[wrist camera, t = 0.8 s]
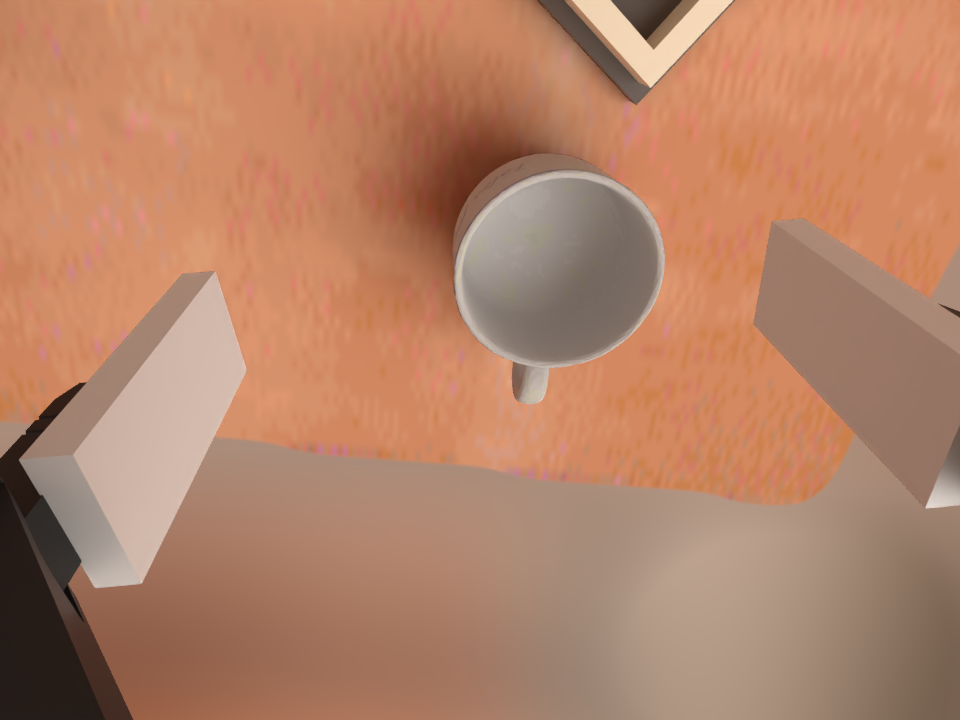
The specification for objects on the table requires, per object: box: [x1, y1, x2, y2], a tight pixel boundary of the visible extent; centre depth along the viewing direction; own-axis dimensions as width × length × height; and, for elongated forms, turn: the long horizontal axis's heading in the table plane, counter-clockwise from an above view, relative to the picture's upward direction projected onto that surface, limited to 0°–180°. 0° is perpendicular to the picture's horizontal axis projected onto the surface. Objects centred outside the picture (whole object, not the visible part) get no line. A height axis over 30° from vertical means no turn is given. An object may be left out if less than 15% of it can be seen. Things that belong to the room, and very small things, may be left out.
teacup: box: [453, 153, 665, 404], centre depth 35 cm, size 14×11×8 cm
